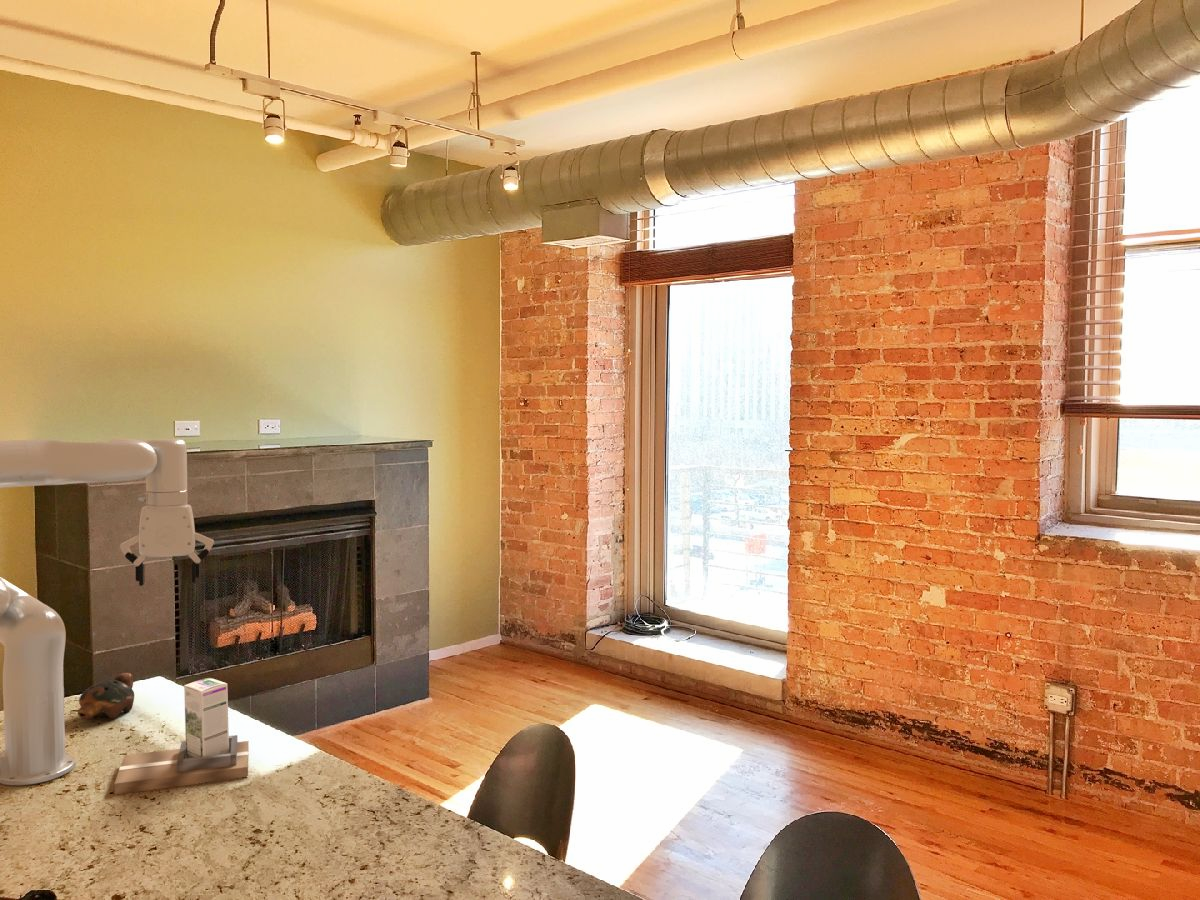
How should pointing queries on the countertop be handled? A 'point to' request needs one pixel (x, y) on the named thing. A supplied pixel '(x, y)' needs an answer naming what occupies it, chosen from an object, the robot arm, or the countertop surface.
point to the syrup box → (206, 718)
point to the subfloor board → (180, 768)
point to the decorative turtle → (107, 697)
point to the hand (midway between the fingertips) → (168, 582)
